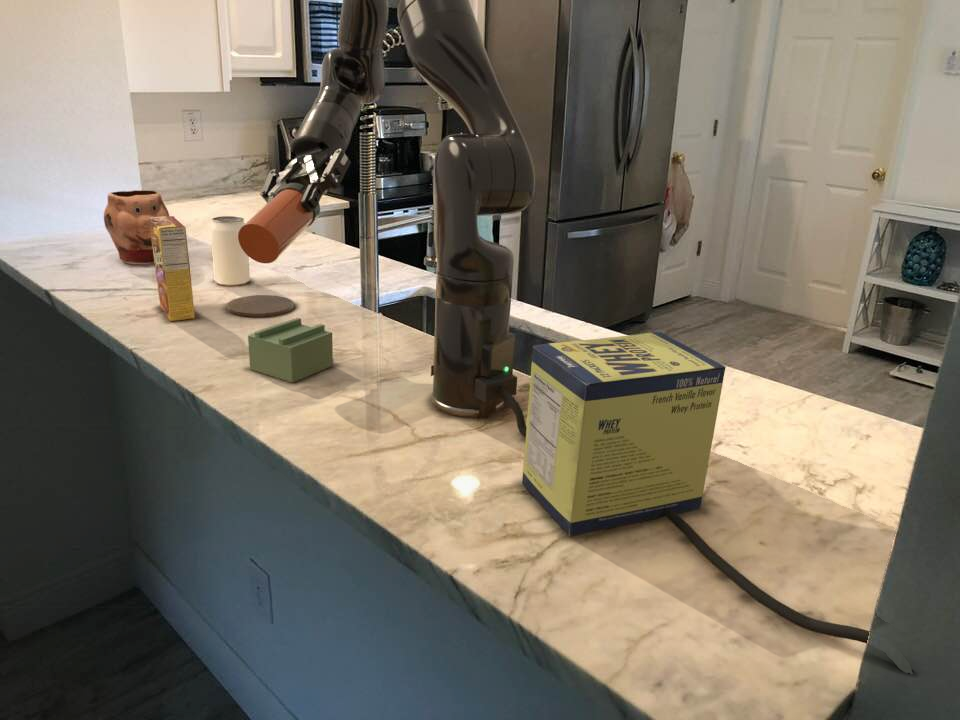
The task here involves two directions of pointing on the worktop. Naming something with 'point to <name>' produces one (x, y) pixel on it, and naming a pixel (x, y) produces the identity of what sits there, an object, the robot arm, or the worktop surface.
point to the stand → (291, 350)
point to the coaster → (260, 306)
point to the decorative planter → (133, 223)
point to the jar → (276, 224)
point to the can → (228, 252)
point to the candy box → (172, 267)
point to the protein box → (619, 429)
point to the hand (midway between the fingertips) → (287, 213)
